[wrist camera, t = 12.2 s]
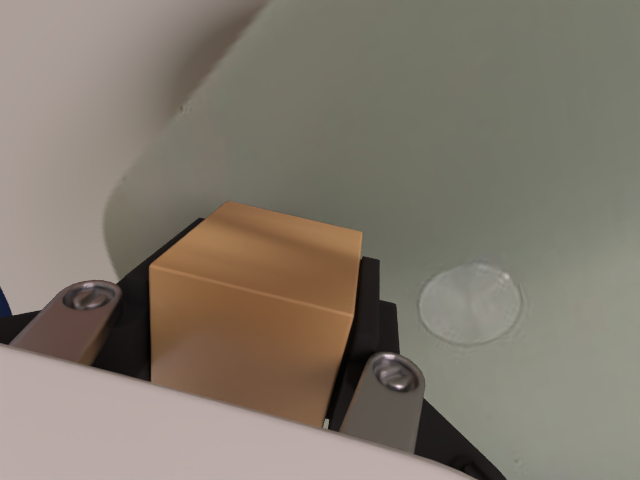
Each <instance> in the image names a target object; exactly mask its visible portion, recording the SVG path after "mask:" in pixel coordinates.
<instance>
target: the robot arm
mask: <svg viewBox="0 0 640 480" xmlns="http://www.w3.org/2000/svg"><path fill="white" fill-rule="evenodd" d="M203 220H205V219H203V218H198V219H197V220H196V221H194V222H193V223H192V224H191V225H189V226H188V227H187V228H186V229H184V230H183V231H182V232H180V233H179V234H178V235H177V236H175V237H174V238H173V239H172V240H170V241H169V242H168V243H167V244H165V245H164V246H163V247H161V248H160V249H159V250H158V251H156V252H155V253H154V254H153V255H151V256H150V257H149V258H148V259H146V260H145V261H144V262H142V263H141V264H140V265H139V266H137V267H136V268H135V269H134V270H132V271H131V272H130V273H129V274H127V275H126V276H125V277H124V278H123V279H122V280H121V281H119V282H118V283H117V284H114V283H112V282H108V281H103V280H91V281H83V282H79V283H76V284H72V285H70V286H68V287H66V288H65V289H63V290H62V291H60V292H59V293H58V294H57V295H56V296H55V297H54V298H53V299H52V300H51V301H50V302H49V303H48V304H47V305H46V306H45V307H44V308H43V309H42V310H40V311H34V312H29V313H24V314H19V315H14V316H8V317H3V318H0V480H506V478H505V477H504V476H503V475H502V473H501V472H500V471H499V470H498V469H497V468H496V467H495V466H494V465H493V464H492V463H491V462H490V461H489V460H488V459H487V458H486V457H485V456H484V455H483V454H482V453H481V452H480V451H478V450H477V449H476V448H475V447H474V446H473V445H472V444H471V443H470V442H469V441H468V440H467V439H466V438H465V437H464V436H463V435H462V434H461V433H460V432H459V431H458V430H457V429H456V428H454V427H453V426H452V425H451V424H450V423H449V422H448V421H447V420H446V419H445V418H444V417H443V416H442V415H441V414H440V413H439V412H438V411H437V410H436V409H435V408H434V407H433V406H432V405H430V404H429V403H428V402H427V401H426V400H425V399H424V398H423V397H424V391H425V378H424V376H423V374H422V371H421V370H420V369H419V368H418V367H417V365H416V364H414V363H413V362H412V361H411V360H409V359H408V358H406V357H404V356H402V355H400V350H399V336H398V322H397V308H396V304H394V303H390V302H386V301H382V300H379V269H380V261H379V260H377V259H373V258H369V257H364V256H363V257H362V260H360V263H359V273H358V282H357V292H356V301H355V310H354V318H353V321H352V325H351V328H350V332H349V336H348V339H347V343H346V346H345V350H344V353H343V357H342V360H341V364H340V368H339V371H338V375H337V378H336V382H335V385H334V389H333V392H332V396H331V400H330V403H329V407H328V410H327V414H326V417H325V418H326V419H329V425H328V429H324V428H321V427H317V426H313V425H310V424H306V423H302V422H299V421H295V420H291V419H287V418H284V417H280V416H276V415H273V414H269V413H265V412H262V411H258V410H254V409H251V408H247V407H243V406H239V405H236V404H232V403H228V402H224V401H221V400H217V399H213V398H209V397H206V396H202V395H198V394H194V393H191V392H187V391H183V390H179V389H175V388H172V387H168V386H164V385H160V384H156V383H153V382H151V345H150V299H149V266H150V264H151V263H152V262H154V261H155V260H156V259H157V258H158V257H160V256H161V255H162V254H163V253H165V252H166V251H167V250H168V249H169V248H171V247H172V246H173V245H174V244H175V243H177V242H178V241H179V240H180V239H182V238H183V237H184V236H185V235H186V234H188V233H189V232H190V231H191V230H192V229H194V228H195V227H196V226H197V225H199V224H200V223H201V222H202V221H203Z"/></svg>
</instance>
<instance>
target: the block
mask: <svg viewBox="0 0 640 480" xmlns="http://www.w3.org/2000/svg"><path fill="white" fill-rule="evenodd" d="M362 235H363V234H362V232H360V231H356V230H351V229H347V228H343V227H339V226H334V225H330V224H326V223H321V222H317V221H313V220H308V219H304V218H300V217H295V216H291V215H287V214H283V213H278V212H274V211H270V210H265V209H261V208H257V207H252V206H248V205H244V204H239V203H235V202H231V201H226V202H225V203H224V204H223V205H222V206H220V207H219V208H218V209H217V210H216V211H214V212H213V213H212V214H211V215H209V216H208V217H207V218H206V219H205V220H203V221H202V222H201V223H200V224H199V225H197V226H196V227H195V228H194V229H192V230H191V231H190V232H189V233H188V234H186V235H185V236H184V237H183V238H182V239H180V240H179V241H178V242H177V243H175V244H174V245H173V246H172V247H171V248H169V249H168V250H167V251H166V252H165V253H163V254H162V255H161V256H160V257H158V258H157V259H156V260H155V261H154V262H152V263H151V264H150V266H149V299H150V345H151V382H153V383H156V384H160V385H164V386H168V387H172V388H175V389H179V390H183V391H187V392H191V393H194V394H198V395H202V396H206V397H209V398H213V399H217V400H221V401H224V402H228V403H232V404H236V405H239V406H243V407H247V408H251V409H254V410H258V411H262V412H265V413H269V414H273V415H276V416H280V417H284V418H287V419H291V420H295V421H299V422H302V423H306V424H310V425H313V426H317V427H321V428H323V425H324V421H325V417H326V414H327V410H328V407H329V403H330V400H331V396H332V392H333V389H334V385H335V382H336V378H337V375H338V371H339V368H340V364H341V360H342V357H343V353H344V350H345V346H346V343H347V339H348V336H349V332H350V328H351V325H352V321H353V318H354V310H355V301H356V292H357V282H358V273H359V263H360V254H361V244H362Z"/></svg>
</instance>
